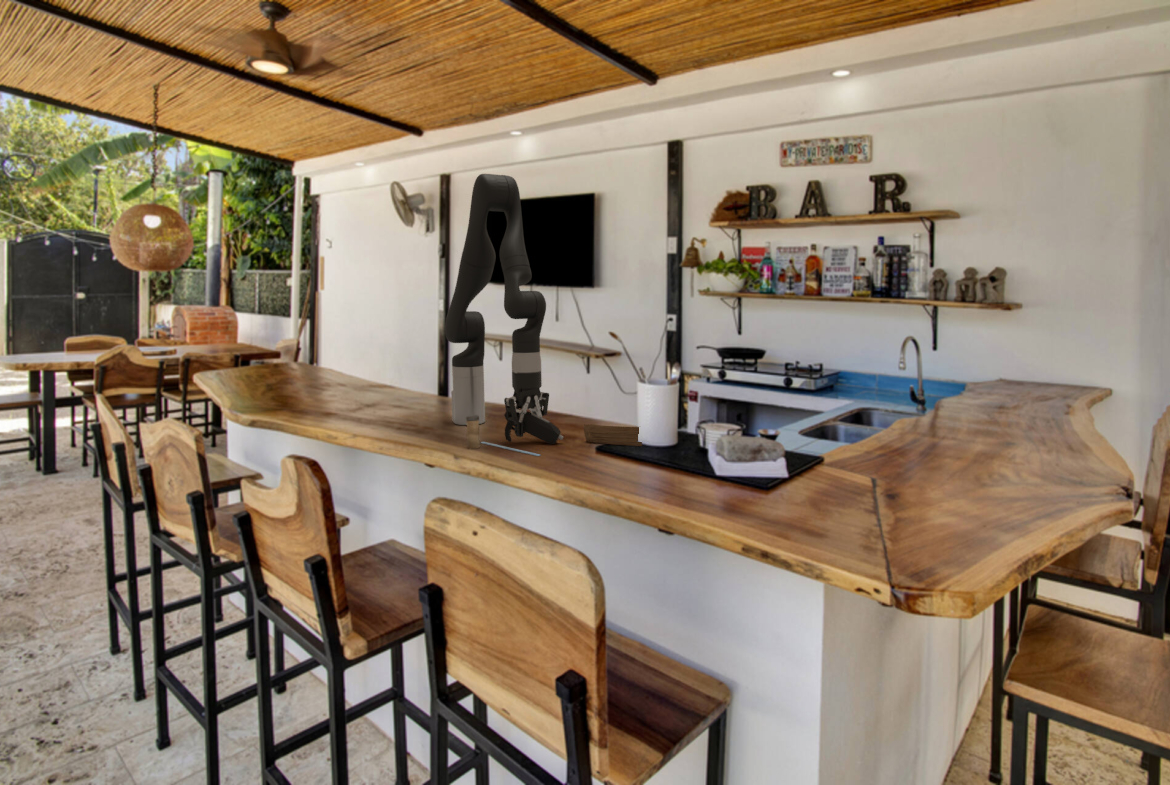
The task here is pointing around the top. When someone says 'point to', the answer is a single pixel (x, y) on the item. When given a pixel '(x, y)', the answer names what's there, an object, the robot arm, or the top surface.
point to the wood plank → (612, 435)
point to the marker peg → (473, 432)
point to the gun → (535, 428)
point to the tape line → (511, 449)
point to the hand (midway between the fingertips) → (527, 434)
